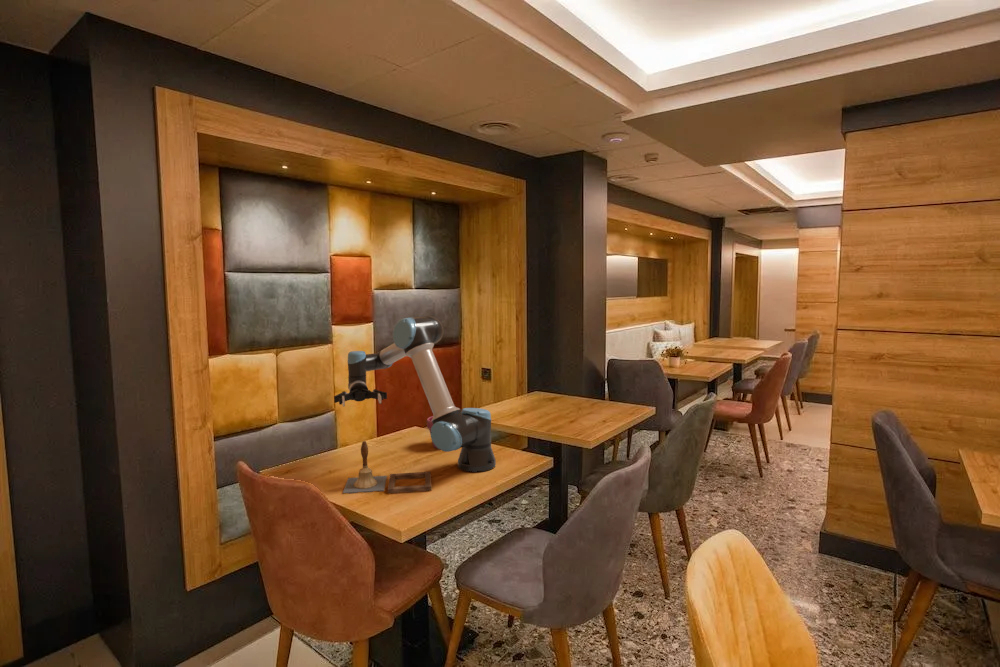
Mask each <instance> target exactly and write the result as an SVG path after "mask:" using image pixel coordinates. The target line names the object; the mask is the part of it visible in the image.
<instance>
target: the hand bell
mask: <svg viewBox="0 0 1000 667" xmlns="http://www.w3.org/2000/svg"><path fill="white" fill-rule="evenodd" d="M360 455H361V458H362V468H361V469H358V470H359V471H358V476H357V477H358V479H357V481H356V482H355V483H354V487H356V488H359V489H367V488H372V487H374V486H376V485H377V481H376V480H375V479H374V478H373V476H374V475H373V471H372V468H370V467H369V465H368V455H369V447H368V443H367V441H366V440H364V441H362V442H361V446H360Z"/></svg>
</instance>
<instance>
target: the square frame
mask: <svg viewBox="0 0 1000 667" xmlns="http://www.w3.org/2000/svg"><path fill="white" fill-rule="evenodd" d="M431 472H432V471H418V472H402V473H401V472H400V473H390V474H389V480H388V486H387V494H388V493H391V494H400V493H399V492H406V493H414V492H413V491H421V492H429V491H428V490H431V491H432V473H431ZM424 478H425V480H424V481H425V484H421V485H420V484H417V485H403V486H396V480H408V479H409V480H411V479H424Z"/></svg>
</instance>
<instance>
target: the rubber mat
mask: <svg viewBox="0 0 1000 667" xmlns="http://www.w3.org/2000/svg"><path fill="white" fill-rule="evenodd" d="M387 477H388V476H387V475H380V476H379V475H378V476H377V475H376V476H375V475H373V478H374V479H375V480H376V481H377V485H376V486H374V487H372V488H367V489H359V488H356V487H354V483H355V482H356V481H357V479H358V476H357V477H348V478H347V481H346V483H345V486H344V489H343V491H342V494H343V493H349V494H359V493H358V492H364V493H374V492H373V491H379V492H384V491H385V489H386V488H385V487H386V482H387Z"/></svg>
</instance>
